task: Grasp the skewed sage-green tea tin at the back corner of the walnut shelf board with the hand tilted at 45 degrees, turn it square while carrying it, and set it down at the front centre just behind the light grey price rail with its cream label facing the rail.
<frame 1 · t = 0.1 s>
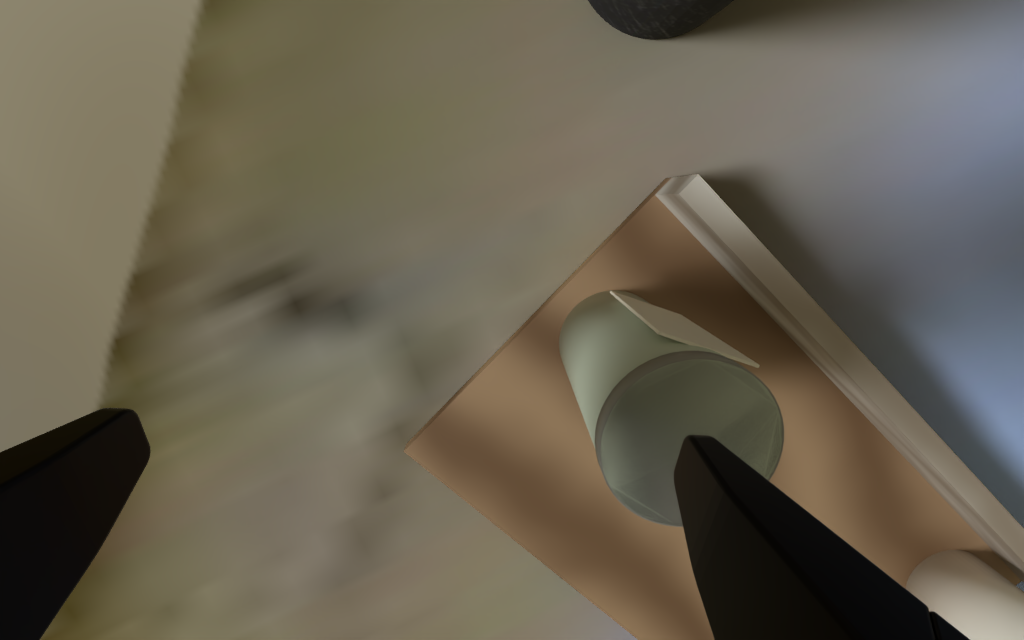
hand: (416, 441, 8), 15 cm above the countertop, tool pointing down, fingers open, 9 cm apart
tea tin: (611, 342, 23), point 1 cm above the countertop, touching shelf board
shelf board: (729, 504, 26), on the countertop
salt jar: (945, 583, 27), point 1 cm above the countertop, touching shelf board
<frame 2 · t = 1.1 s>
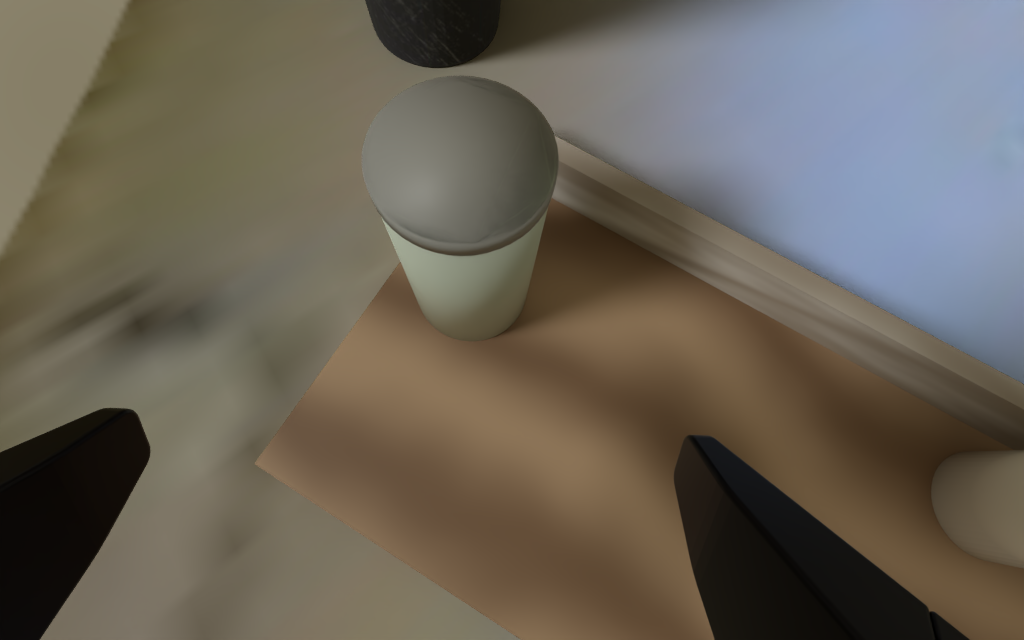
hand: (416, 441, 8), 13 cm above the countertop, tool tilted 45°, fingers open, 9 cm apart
travel mug: (436, 20, 28), on the countertop
tea tin: (472, 288, 22), point 1 cm above the countertop, touching shelf board
shelf board: (672, 460, 21), on the countertop
salt jar: (982, 505, 21), point 1 cm above the countertop, touching shelf board
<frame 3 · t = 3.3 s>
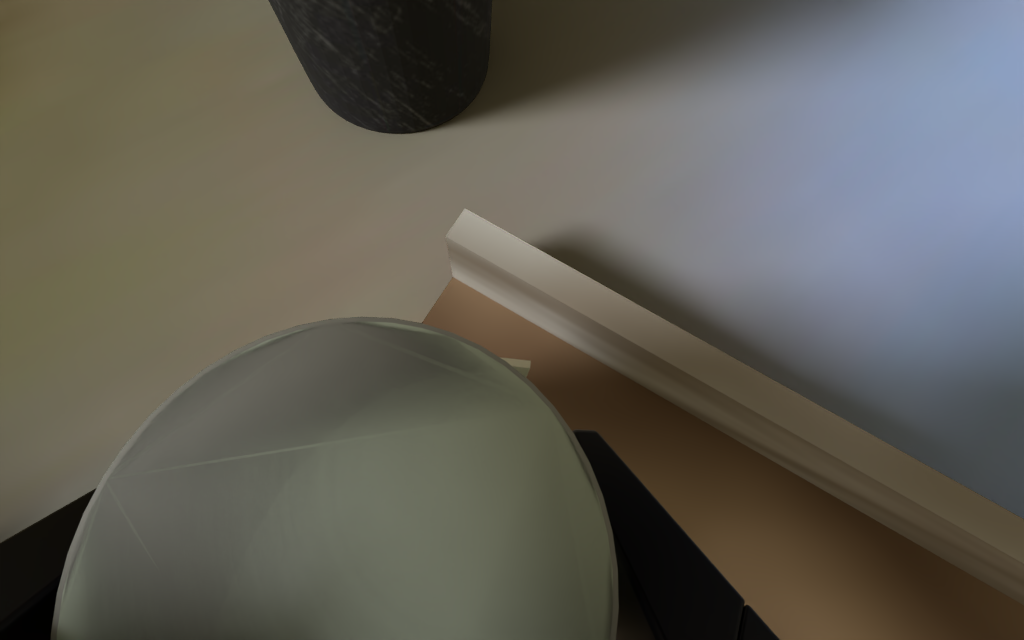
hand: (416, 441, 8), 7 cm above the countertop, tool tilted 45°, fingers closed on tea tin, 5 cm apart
travel mug: (400, 63, 20), on the countertop
tea tin: (443, 501, 14), point 1 cm above the countertop, touching gripper, shelf board
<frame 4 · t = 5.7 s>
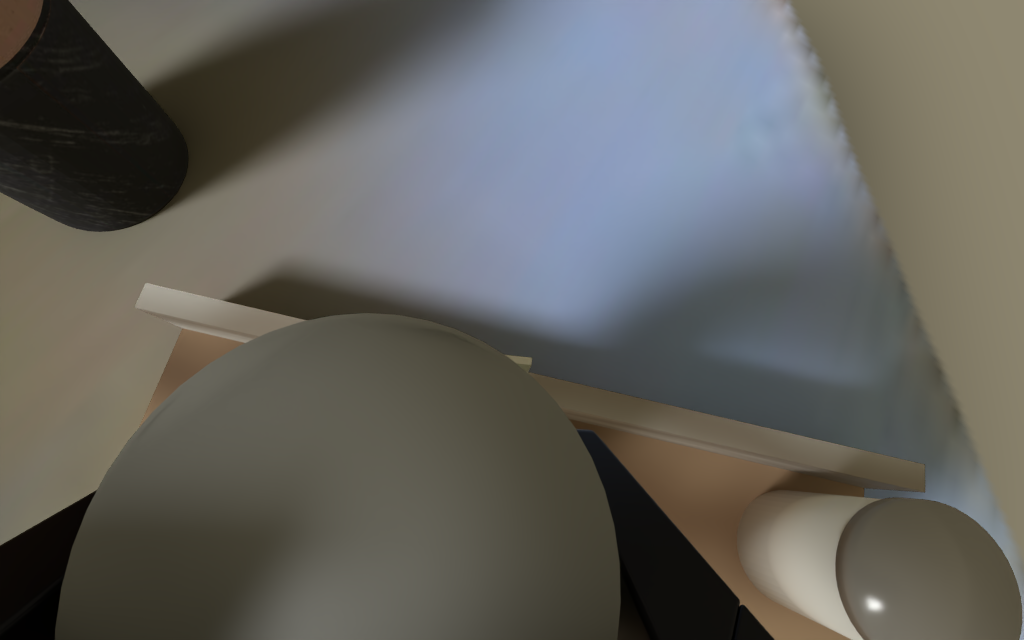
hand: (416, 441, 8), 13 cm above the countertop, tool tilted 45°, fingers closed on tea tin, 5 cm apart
travel mug: (117, 169, 24), on the countertop
tea tin: (443, 499, 14), point 7 cm above the countertop, touching gripper
shelf board: (474, 607, 19), on the countertop
salt jar: (790, 547, 20), point 1 cm above the countertop, touching shelf board
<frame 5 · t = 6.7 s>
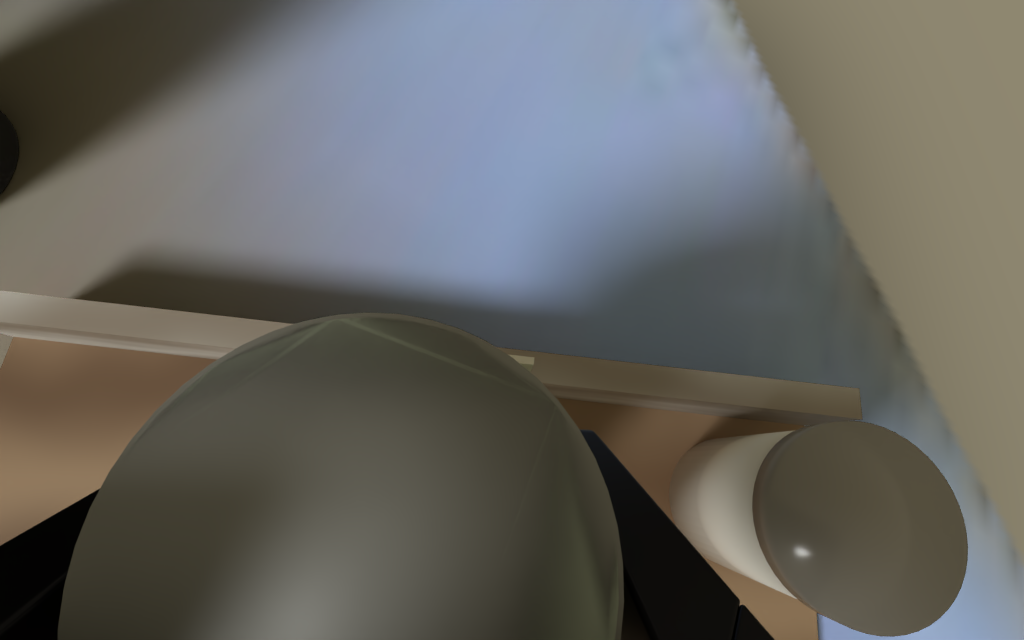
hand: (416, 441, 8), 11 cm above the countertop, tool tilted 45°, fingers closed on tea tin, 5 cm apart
tea tin: (444, 499, 14), point 4 cm above the countertop, touching gripper
shelf board: (379, 613, 17), on the countertop
salt jar: (728, 500, 18), point 1 cm above the countertop, touching shelf board
when the fingers open (8 cm above the countertop, at t = 7.6 s): tea tin drops 1 cm, resting on shelf board.
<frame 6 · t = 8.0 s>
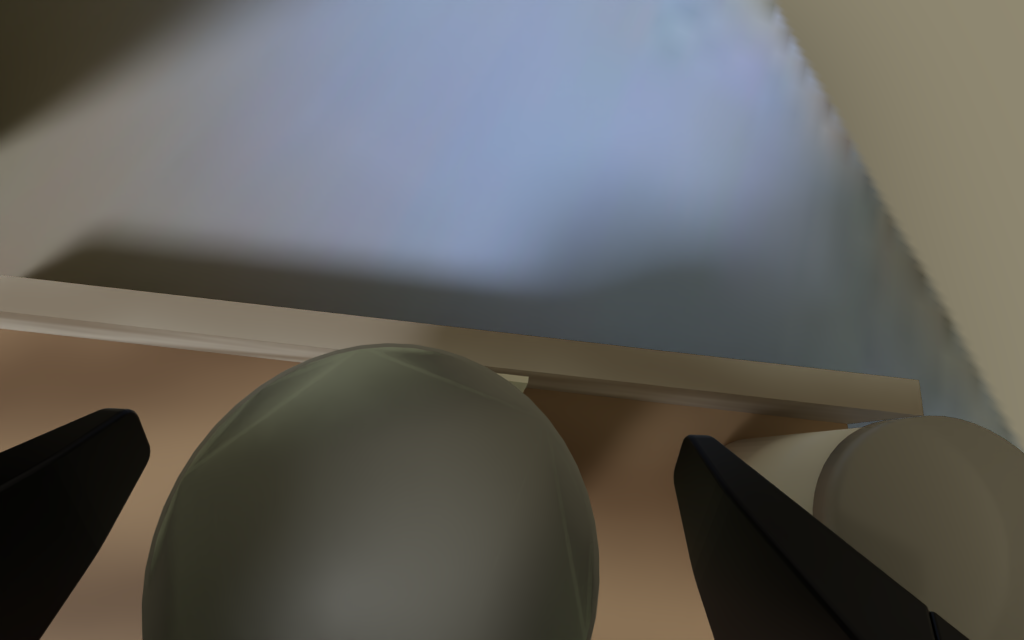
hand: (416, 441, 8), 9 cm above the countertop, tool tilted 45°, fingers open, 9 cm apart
tea tin: (447, 499, 15), point 1 cm above the countertop, touching shelf board
salt jar: (763, 509, 15), point 1 cm above the countertop, touching shelf board
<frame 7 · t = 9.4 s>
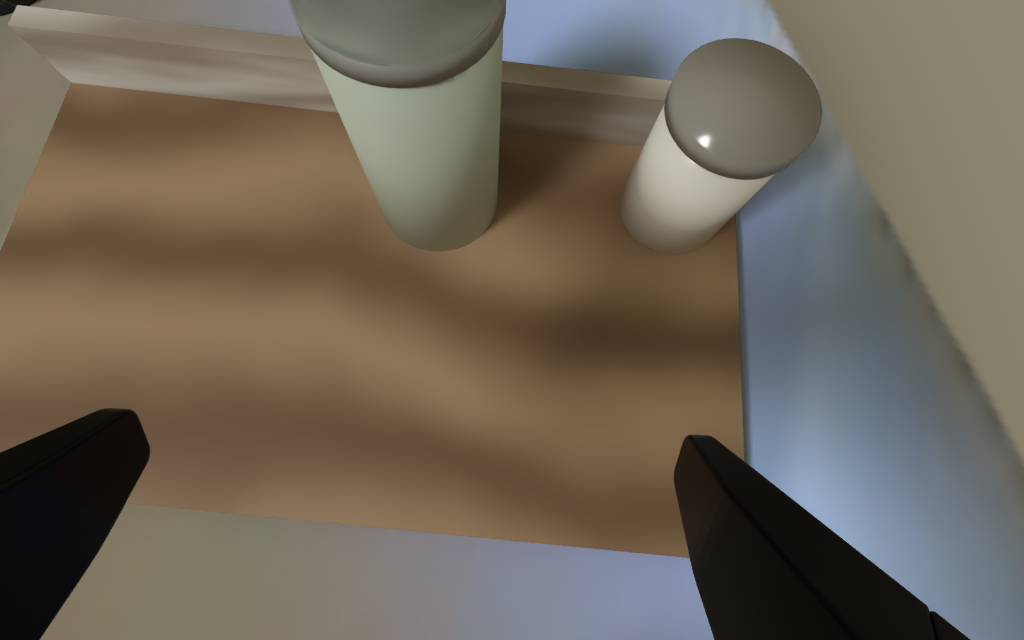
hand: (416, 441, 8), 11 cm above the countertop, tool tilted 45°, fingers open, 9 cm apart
tea tin: (439, 198, 21), point 1 cm above the countertop, touching shelf board
shelf board: (380, 292, 21), on the countertop
salt jar: (668, 208, 21), point 1 cm above the countertop, touching shelf board
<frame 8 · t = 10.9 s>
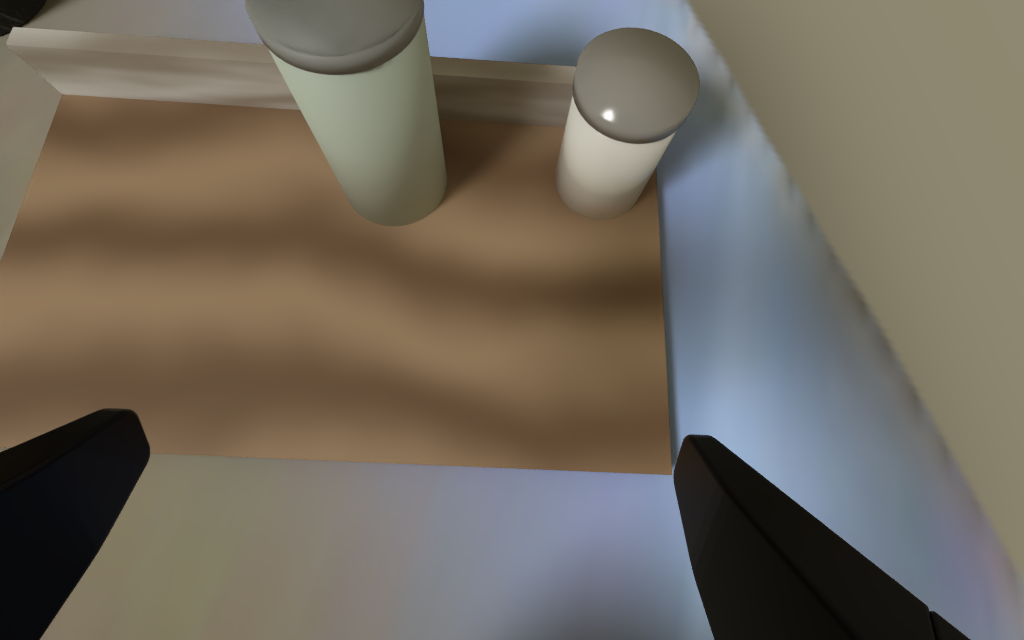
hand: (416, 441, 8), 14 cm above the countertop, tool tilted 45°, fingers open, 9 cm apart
tea tin: (396, 180, 24), point 1 cm above the countertop, touching shelf board
shelf board: (347, 265, 23), on the countertop
salt jar: (598, 180, 24), point 1 cm above the countertop, touching shelf board
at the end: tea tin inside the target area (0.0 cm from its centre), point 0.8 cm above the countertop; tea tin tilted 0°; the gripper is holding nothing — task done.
